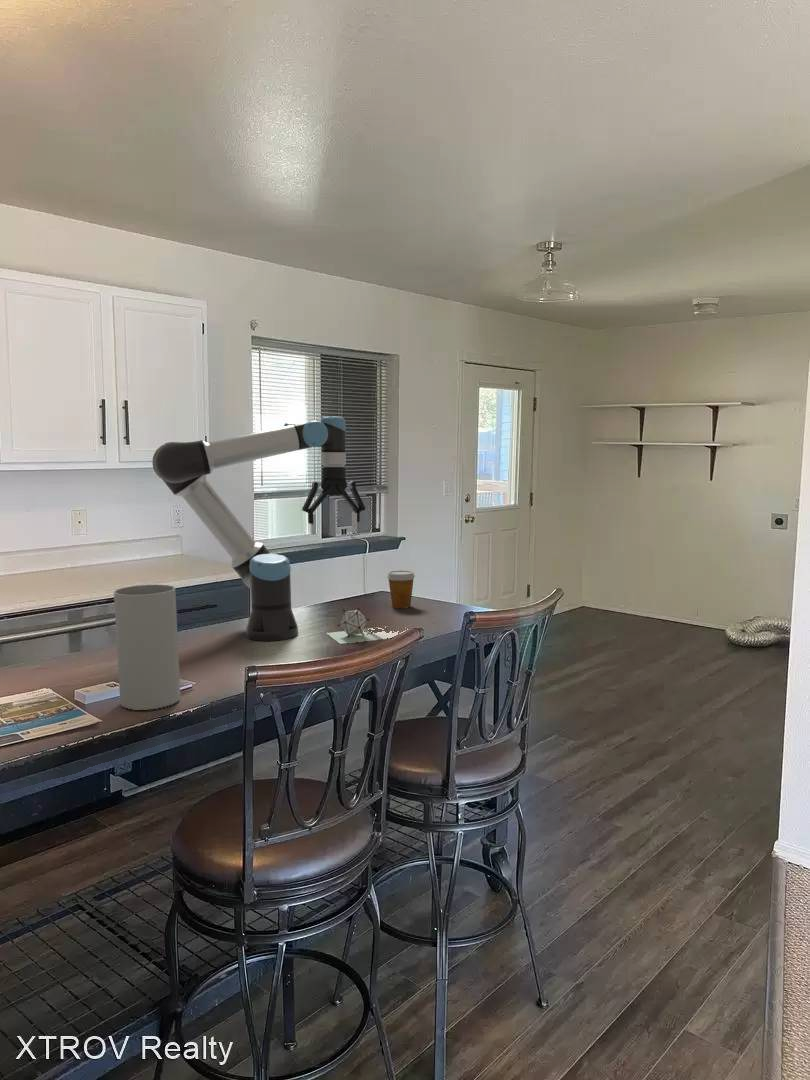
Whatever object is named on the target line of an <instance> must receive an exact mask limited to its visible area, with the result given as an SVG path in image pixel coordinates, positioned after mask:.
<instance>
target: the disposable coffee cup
mask: <svg viewBox="0 0 810 1080" xmlns="http://www.w3.org/2000/svg"><path fill="white" fill-rule="evenodd" d="M415 576H416V575H415V573H414V571H412V570H392V571H391V570H390V571H389V572H388V575H387V576H386V578H387V580H388V585H389V593H390V599H391V607H392V608H393V607H395V608H394V609H399V608H401V609H407V608H406V607H409V608H410V607H411V603H412V597H413V587H414V586H413V585H414V579H415Z"/></svg>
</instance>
